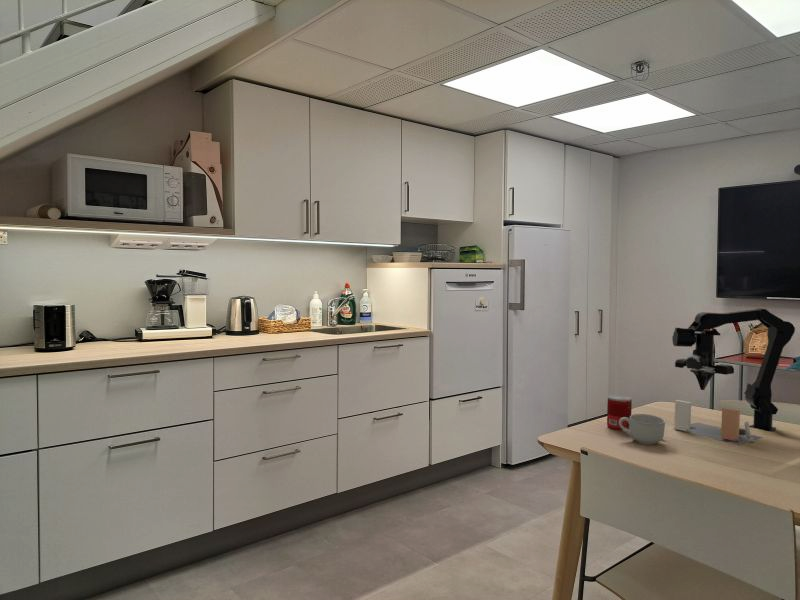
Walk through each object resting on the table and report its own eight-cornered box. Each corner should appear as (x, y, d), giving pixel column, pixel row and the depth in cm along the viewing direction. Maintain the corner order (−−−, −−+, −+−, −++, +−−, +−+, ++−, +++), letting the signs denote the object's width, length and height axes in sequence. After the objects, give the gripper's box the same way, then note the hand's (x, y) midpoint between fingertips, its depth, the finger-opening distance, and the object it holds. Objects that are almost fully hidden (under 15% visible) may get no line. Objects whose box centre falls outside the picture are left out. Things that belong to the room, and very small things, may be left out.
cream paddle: (677, 426, 198) (678, 399, 198) (691, 430, 194) (692, 402, 194) (672, 428, 196) (673, 400, 196) (686, 431, 192) (687, 403, 192)
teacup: (664, 439, 187) (665, 416, 187) (664, 449, 178) (665, 423, 177) (619, 434, 193) (620, 411, 193) (617, 442, 183) (618, 418, 183)
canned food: (632, 431, 197) (633, 400, 196) (608, 429, 199) (609, 398, 198) (628, 425, 204) (629, 395, 204) (605, 424, 206) (606, 394, 206)
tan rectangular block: (724, 436, 188) (725, 407, 187) (740, 439, 184) (741, 410, 183) (719, 437, 186) (720, 408, 186) (735, 441, 182) (736, 411, 181)
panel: (697, 425, 206) (697, 405, 206) (763, 440, 188) (764, 418, 187) (672, 431, 197) (673, 410, 197) (739, 448, 179) (740, 425, 179)
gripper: (667, 345, 208) (665, 387, 209) (719, 351, 192) (717, 397, 193) (684, 343, 214) (682, 384, 215) (735, 349, 199) (733, 393, 199)
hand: (702, 389), depth 205 cm, fingers closed
